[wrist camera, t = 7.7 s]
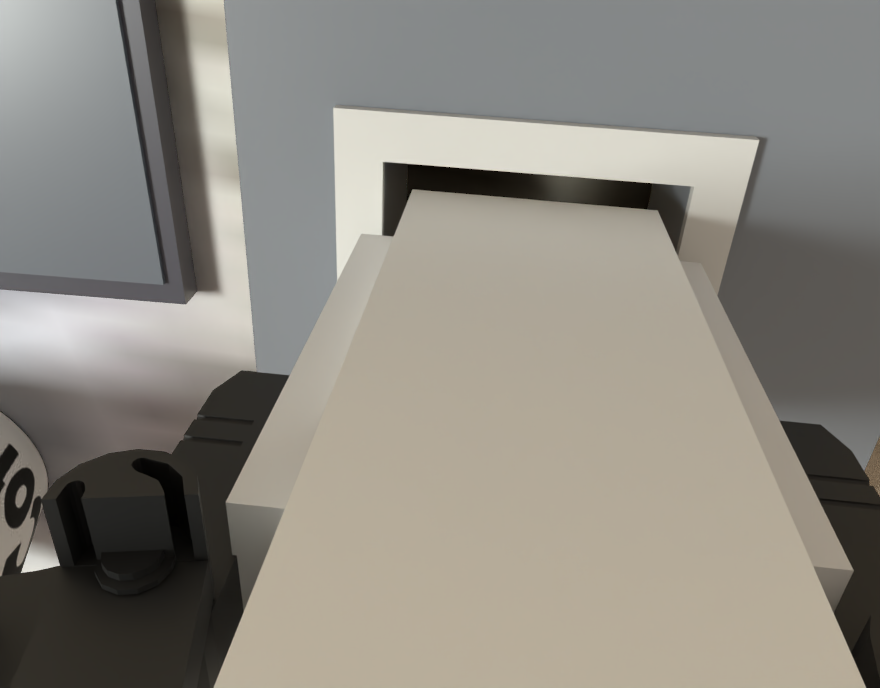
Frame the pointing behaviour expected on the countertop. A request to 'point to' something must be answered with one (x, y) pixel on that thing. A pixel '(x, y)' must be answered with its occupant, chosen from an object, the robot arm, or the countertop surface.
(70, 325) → the countertop surface
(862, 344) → the plate
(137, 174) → the phone
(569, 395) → the block
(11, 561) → the cup
